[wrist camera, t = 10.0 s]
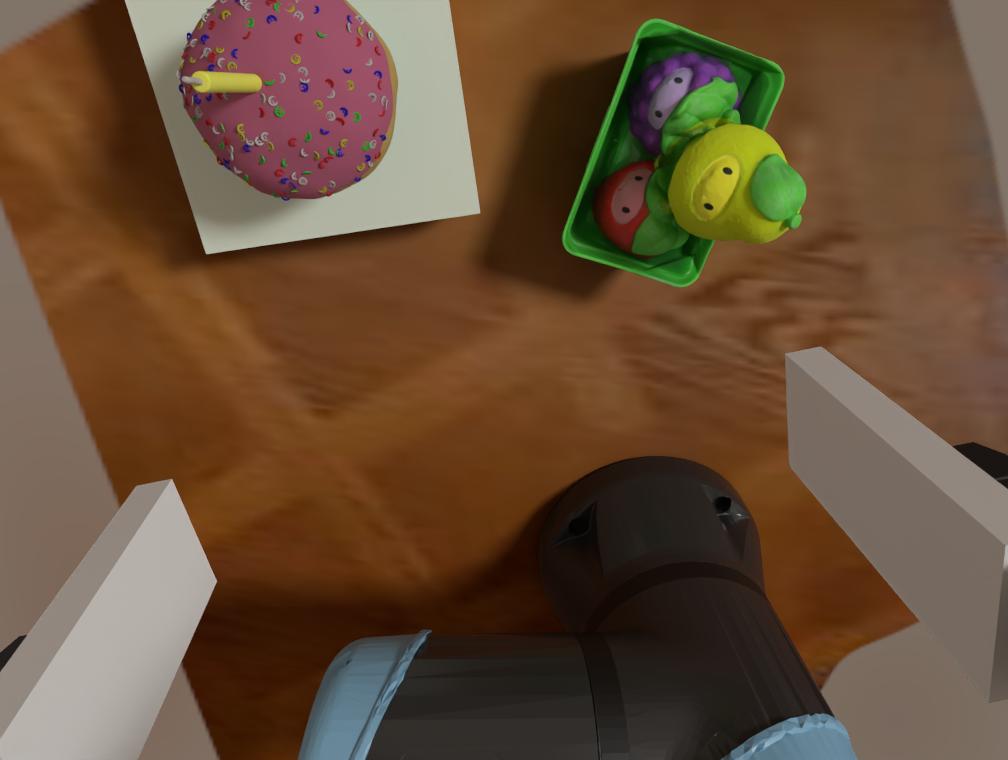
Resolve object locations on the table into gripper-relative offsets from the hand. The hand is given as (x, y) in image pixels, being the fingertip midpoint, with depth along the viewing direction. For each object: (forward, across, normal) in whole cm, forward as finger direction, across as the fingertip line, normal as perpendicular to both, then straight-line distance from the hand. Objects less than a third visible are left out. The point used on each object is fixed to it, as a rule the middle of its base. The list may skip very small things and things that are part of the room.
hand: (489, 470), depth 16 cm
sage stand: (+28, +6, -8) cm, 29 cm away
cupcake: (+24, +6, -8) cm, 26 cm away
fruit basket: (+28, -11, -1) cm, 30 cm away
